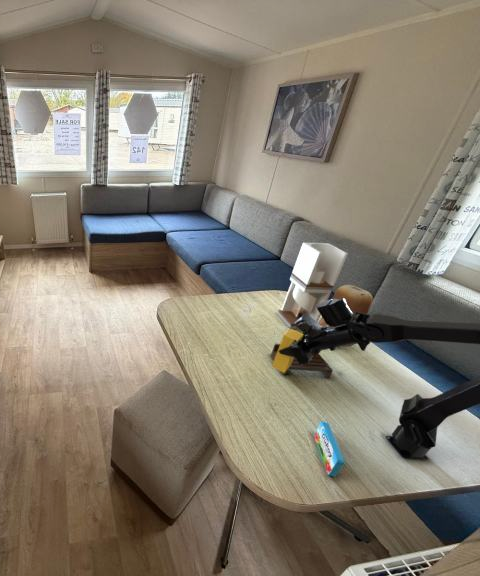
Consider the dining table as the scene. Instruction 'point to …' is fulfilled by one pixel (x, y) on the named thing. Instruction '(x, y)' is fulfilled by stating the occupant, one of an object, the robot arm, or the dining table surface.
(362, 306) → the butternut squash
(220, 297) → the dining table surface
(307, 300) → the white cubby shelf
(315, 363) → the rack
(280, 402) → the dining table surface
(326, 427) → the blue food box
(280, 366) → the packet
